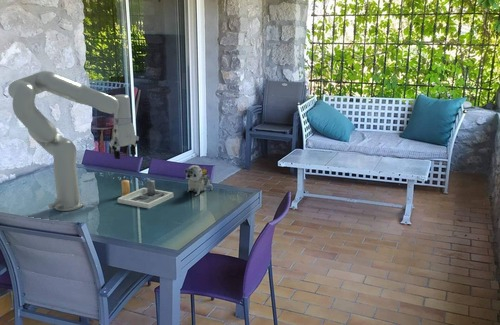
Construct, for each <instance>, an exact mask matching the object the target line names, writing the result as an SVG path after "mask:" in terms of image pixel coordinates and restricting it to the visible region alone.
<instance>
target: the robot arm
mask: <svg viewBox="0 0 500 325" xmlns="http://www.w3.org/2000/svg"><path fill="white" fill-rule="evenodd" d="M7 91H8V94H9V96H10V97H11V99H12V109H13V114H14V115H15V117H16V118H17V120H19V121H20V122H21V124H22V125H23V126H25V128H26V129H27V132H28V134H29V135H30V136H31V138H32V139H33V140H34V141H35V142H36V143H38V145H39V146H40V147H42V149H44V151H46V152H47V153H48V154H49V155H50V156H52V157H53V163H52V164H53V165H52V166H53V174H54V183H55V193H56V198H55V199H54V202H51V203H49V204H48V208H49V209H53V208H54V210H56V211H59V212H60V211H61V212H70V211H74V210H79V209H80V208H83V207H84V205H85V202H84V201H83V200H81V199H80V188H79V179H78V178H79V177H78V170H77V148H76V145H75V144H74V142H73V141H72V140H70V139H69V138H66V137H64V136H62V134H60V133H59V132H58V130H57V127H56V126H55V125H54V124H53V122H52V121H50V120H49V119H48V118H47V117H46V116H45V115H44V114H43V113H42V112H41V111H40V109H38V108H37V106H36V103H35V102H36V100H35V99H36V95H38V94H41V93H44V92H46V93H47V92H48V93H50V94H52V95H55V96H58V97H60V98H63V99H66V100H69V101H71V102H74V103H77V104H81V105H85V106H89V107H91V108H94V109H97V111H100V112H103V113H106V114H110V115H112V114H113V117H114V119H113V121H112V122H113V129H112V130H113V134H112V137H113V138H112V139H110V141H109V142H108V145H109V147H110V149H111V150H112V151H113V154H114V156H113V157H114V159H117V160H120V159H121V155H120V154H121V153H120V150H119V149H120V148H121V147H126V146H130V147H129V148H130V149H129V150H130V155H132V156H136V155H137V149H136V147H137V145H138V143H139V138H140V136H138V135H136V131H135V127H134V126H135V125H134V124H133V122H132V114H131V103H130V102H131V100H130V96H129V95H128V94H115V95H109V94H107V93H104V92H102V91H99V90H97V89H94V88H92V87H89V86H87V85H85V84H83V83H81V82H77V81H75V80H73V79H70V78H68V77H65V76H64V75H61V74H58V73H55V72H52V71H47V70H44V71H39V72H35V73H33V74H31V75H28V76H25V77H22V78H19V79H15V80H14V81H12V82H11V83H10V84H9V86H8V89H7Z"/></svg>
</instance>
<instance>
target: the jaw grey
mask: <svg viewBox="0 0 500 325" xmlns="http://www.w3.org/2000/svg"><path fill="white" fill-rule="evenodd" d="M155 185H156V182H155V180H154V179H149V180H146V188H147V196H151V197H153V196H155V195H156V194H155V190H156V186H155Z"/></svg>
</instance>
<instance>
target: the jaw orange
mask: <svg viewBox="0 0 500 325" xmlns="http://www.w3.org/2000/svg"><path fill="white" fill-rule="evenodd" d="M120 182H121V184H120V185H121V193H122V194H121V196H120V197H122V196H125V195H127V194H129V193H131V187H130V180H128V179H123V180H121V181H120Z"/></svg>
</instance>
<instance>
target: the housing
mask: <svg viewBox="0 0 500 325" xmlns="http://www.w3.org/2000/svg"><path fill="white" fill-rule="evenodd" d="M155 194H156V195H155V196H153V197H151V196H147V187H141V188H139V189H137V190H134V191H132V192H130V193H129V194H127V195H125V196H120V197H118V198H117V203H118V204H124V205H128V206H134V207H140V208H142V209H147V210H148V209H151V208H154V207H155V206H158V205H160V204H162V203H164V202H166V201H168V200H170V199H172V198H174V192H172V191H165V190H159V189H155Z"/></svg>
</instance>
